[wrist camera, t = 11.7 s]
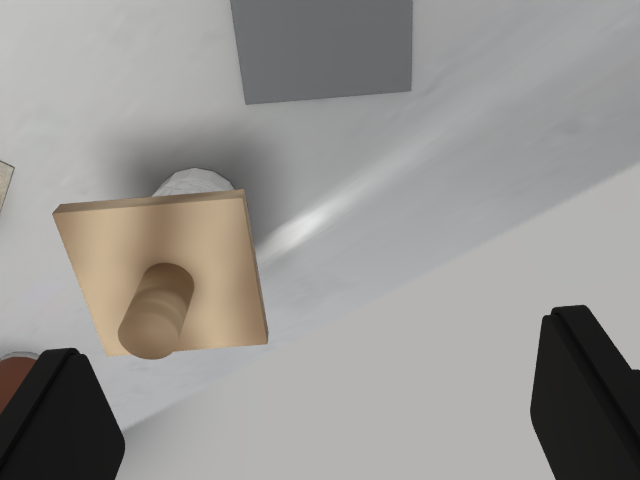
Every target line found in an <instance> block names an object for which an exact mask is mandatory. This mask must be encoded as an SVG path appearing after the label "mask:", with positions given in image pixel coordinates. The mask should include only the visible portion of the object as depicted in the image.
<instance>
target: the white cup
mask: <svg viewBox="0 0 640 480" xmlns="http://www.w3.org/2000/svg"><path fill="white" fill-rule="evenodd" d="M227 190H234V188H233V186H232V185H231V183H230V182H229V181H227V180H226V179H224V178H223V177H221V176H220V175H218V174H217V173H215V172H214V171H209V170H203V169H198V168H191V169H187V170H182V171H178V172H175V173H174V174H173V175H172V176H170V177H169V178H168V179H167V180H166V181H165V182H164V183H162V185H161V186H160V187H159V189H158V190H157V191H156V192H155V193H154V195H153V196H152V197H155V196H167V195H179V194H191V193H203V192H215V191H227Z"/></svg>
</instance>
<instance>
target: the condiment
mask: <svg viewBox="0 0 640 480" xmlns="http://www.w3.org/2000/svg"><path fill="white" fill-rule="evenodd" d="M13 169H14V168H13V167H10V166H8V165H6V164H4V163H2V162H0V210H1V207H2V204H3V201H4V198H5V195H6V192H7V188H8V184H9V181H10V178H11V175H12V172H13Z"/></svg>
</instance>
